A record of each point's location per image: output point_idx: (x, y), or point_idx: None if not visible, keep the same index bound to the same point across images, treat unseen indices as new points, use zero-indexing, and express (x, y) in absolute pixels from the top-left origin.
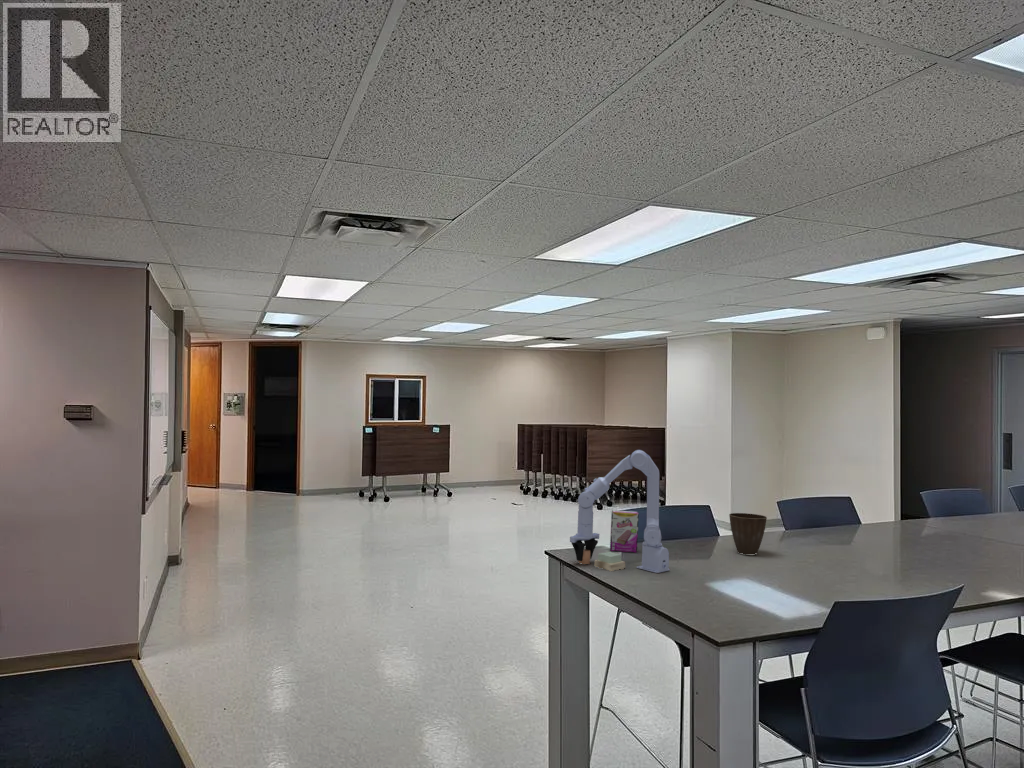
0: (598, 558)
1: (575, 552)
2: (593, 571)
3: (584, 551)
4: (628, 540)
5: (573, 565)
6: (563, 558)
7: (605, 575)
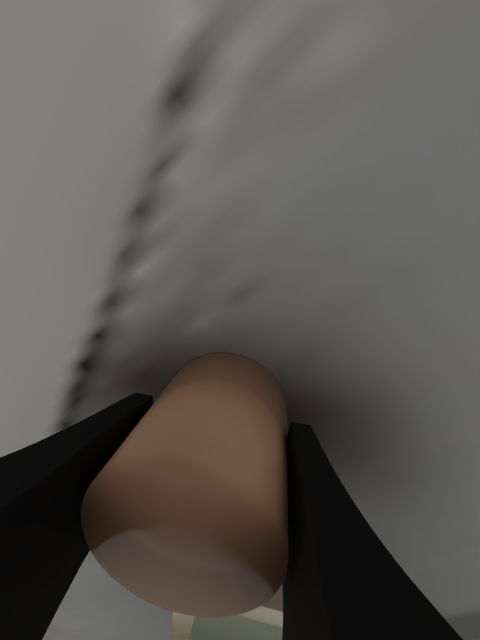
0: (190, 634)
1: (53, 438)
2: (89, 554)
3: (108, 573)
4: None
5: (88, 380)
6: (243, 84)
7: (83, 625)
